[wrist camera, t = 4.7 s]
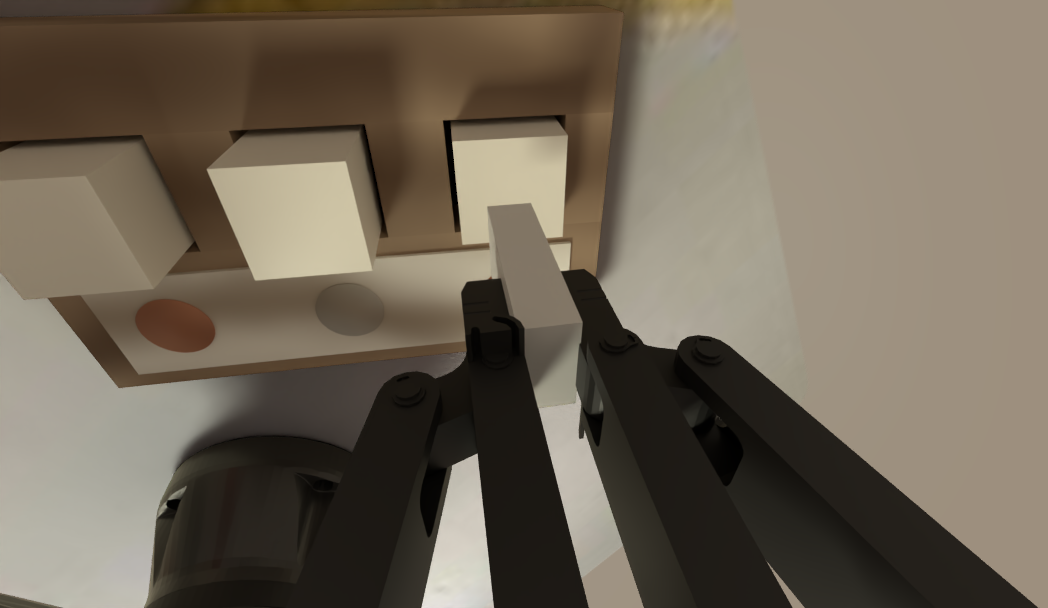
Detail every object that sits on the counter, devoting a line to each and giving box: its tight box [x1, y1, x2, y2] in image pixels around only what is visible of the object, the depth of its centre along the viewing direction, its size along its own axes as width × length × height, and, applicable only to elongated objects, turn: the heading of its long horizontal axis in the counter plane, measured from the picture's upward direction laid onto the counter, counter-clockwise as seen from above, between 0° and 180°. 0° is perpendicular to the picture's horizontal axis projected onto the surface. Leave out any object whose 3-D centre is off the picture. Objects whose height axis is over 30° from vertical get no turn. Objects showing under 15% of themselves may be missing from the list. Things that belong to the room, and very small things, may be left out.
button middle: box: [207, 124, 383, 280], centre depth 18 cm, size 4×4×4 cm
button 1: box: [451, 115, 568, 245], centre depth 20 cm, size 4×4×4 cm
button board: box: [0, 5, 624, 388], centre depth 21 cm, size 16×25×3 cm, turn 90°
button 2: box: [0, 135, 195, 300], centre depth 17 cm, size 4×4×4 cm
